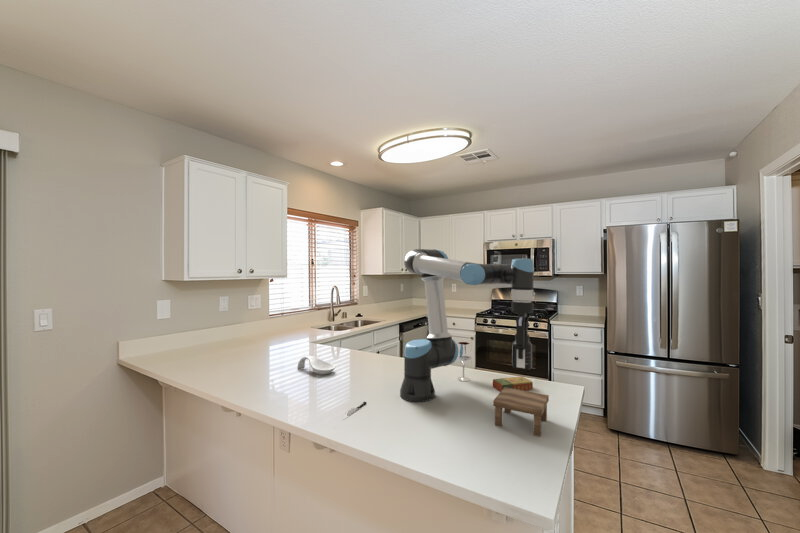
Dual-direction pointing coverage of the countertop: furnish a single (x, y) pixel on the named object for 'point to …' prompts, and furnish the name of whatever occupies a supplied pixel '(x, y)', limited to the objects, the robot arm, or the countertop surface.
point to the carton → (513, 383)
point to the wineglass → (464, 356)
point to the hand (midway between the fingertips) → (522, 364)
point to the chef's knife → (355, 409)
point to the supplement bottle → (527, 354)
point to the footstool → (521, 405)
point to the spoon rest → (317, 365)
